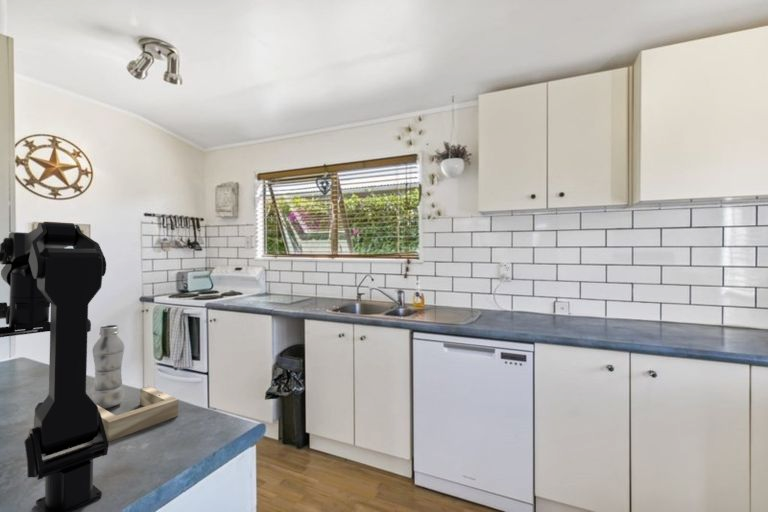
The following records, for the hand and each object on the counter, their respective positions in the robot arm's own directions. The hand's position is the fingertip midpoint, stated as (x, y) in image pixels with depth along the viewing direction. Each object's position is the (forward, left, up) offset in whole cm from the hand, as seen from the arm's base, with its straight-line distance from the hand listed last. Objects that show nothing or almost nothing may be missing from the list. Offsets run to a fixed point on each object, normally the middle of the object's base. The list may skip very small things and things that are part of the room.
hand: (27, 370), depth 74 cm
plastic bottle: (+5, -16, -15) cm, 22 cm away
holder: (-7, -16, -14) cm, 23 cm away
